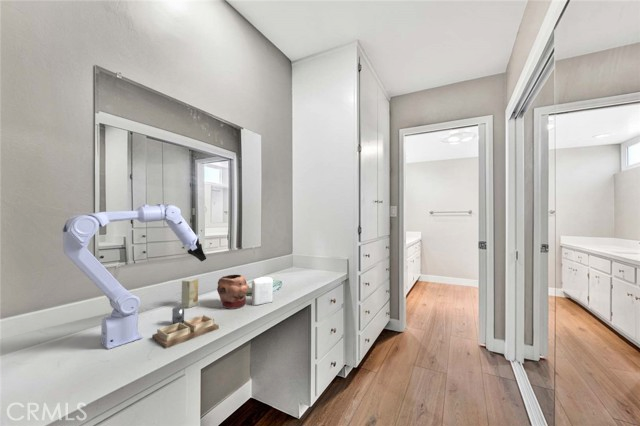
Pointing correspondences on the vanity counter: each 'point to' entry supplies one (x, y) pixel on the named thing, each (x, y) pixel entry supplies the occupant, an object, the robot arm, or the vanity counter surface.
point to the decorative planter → (232, 291)
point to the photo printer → (262, 290)
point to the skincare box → (189, 293)
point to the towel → (276, 286)
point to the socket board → (184, 331)
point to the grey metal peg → (178, 315)
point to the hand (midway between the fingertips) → (202, 256)
